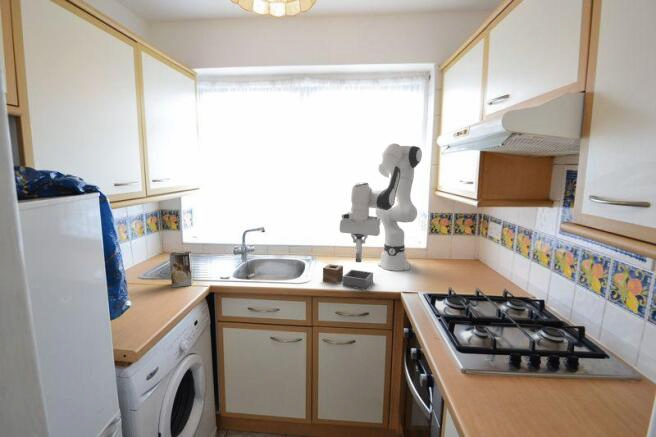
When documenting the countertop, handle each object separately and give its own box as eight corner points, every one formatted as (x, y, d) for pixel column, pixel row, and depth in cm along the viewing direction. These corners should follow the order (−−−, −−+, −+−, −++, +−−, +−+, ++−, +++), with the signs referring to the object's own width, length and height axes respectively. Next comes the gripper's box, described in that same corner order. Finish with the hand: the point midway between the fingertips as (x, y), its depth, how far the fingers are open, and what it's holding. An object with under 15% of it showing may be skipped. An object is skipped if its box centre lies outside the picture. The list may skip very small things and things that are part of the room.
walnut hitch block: (329, 276, 170) (329, 264, 169) (342, 278, 167) (343, 265, 166) (322, 280, 163) (323, 268, 162) (337, 283, 160) (337, 270, 159)
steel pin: (355, 259, 161) (356, 232, 159) (364, 261, 159) (365, 233, 157) (352, 262, 156) (353, 234, 155) (361, 263, 155) (362, 235, 153)
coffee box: (193, 281, 161) (191, 251, 158) (191, 285, 155) (189, 254, 152) (173, 283, 158) (171, 252, 156) (171, 287, 152) (169, 255, 150)
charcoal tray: (351, 278, 167) (351, 269, 167) (372, 281, 162) (373, 272, 162) (342, 285, 156) (343, 276, 156) (365, 289, 152) (366, 279, 151)
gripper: (382, 216, 153) (381, 243, 155) (343, 213, 161) (342, 239, 163) (378, 217, 147) (377, 246, 149) (338, 214, 156) (338, 242, 158)
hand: (359, 242), depth 156 cm, fingers closed on steel pin, 3 cm apart
